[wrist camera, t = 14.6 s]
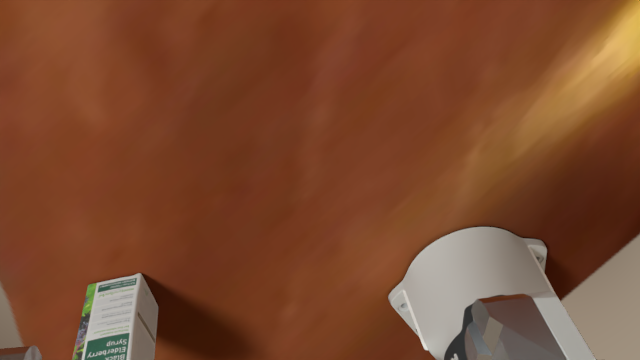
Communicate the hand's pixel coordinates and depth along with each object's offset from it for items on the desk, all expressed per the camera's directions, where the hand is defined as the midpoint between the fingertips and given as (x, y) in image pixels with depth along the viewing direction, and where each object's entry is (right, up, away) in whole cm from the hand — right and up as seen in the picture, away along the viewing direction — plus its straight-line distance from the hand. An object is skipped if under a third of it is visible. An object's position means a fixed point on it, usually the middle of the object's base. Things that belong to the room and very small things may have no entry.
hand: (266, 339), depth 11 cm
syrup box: (-20, -9, +51) cm, 56 cm away
